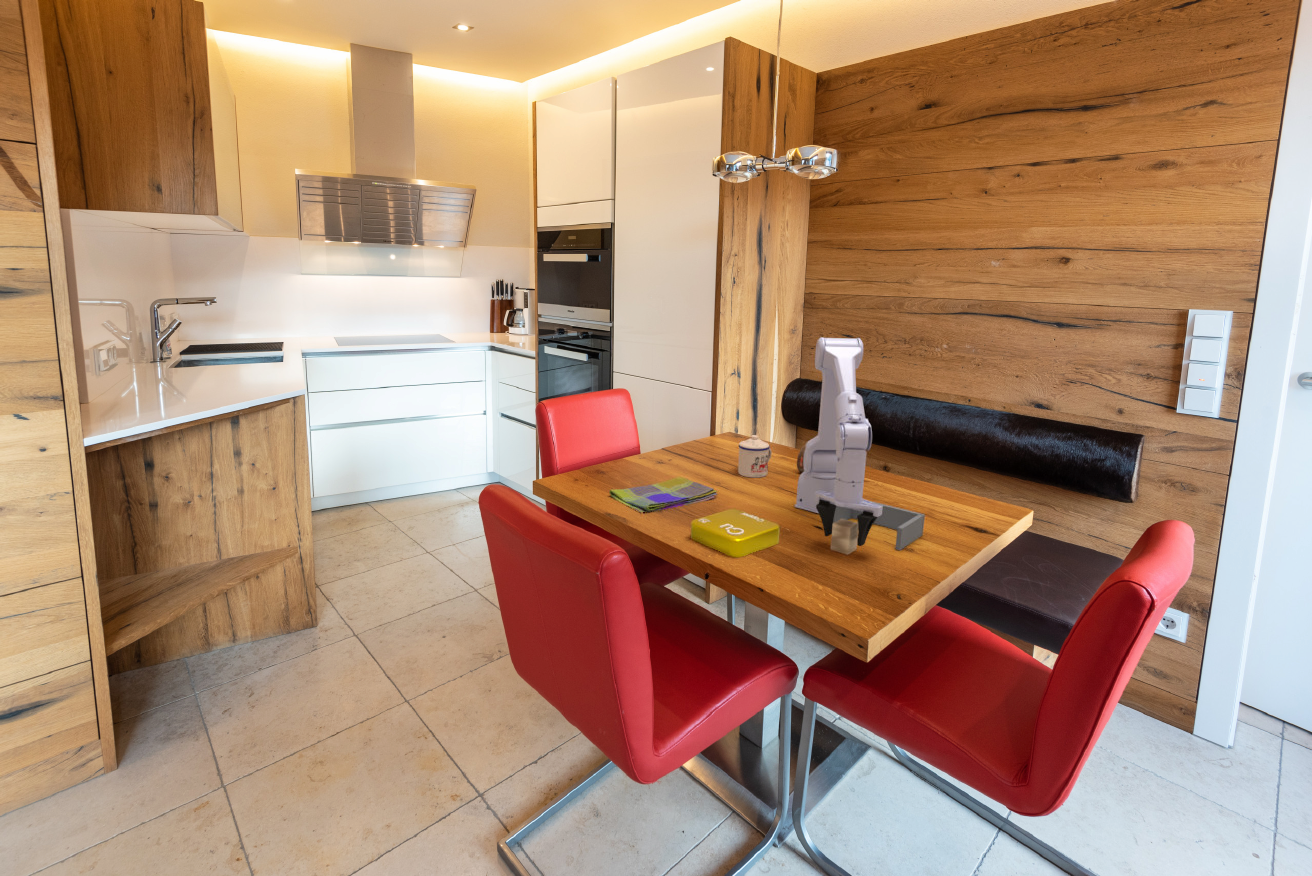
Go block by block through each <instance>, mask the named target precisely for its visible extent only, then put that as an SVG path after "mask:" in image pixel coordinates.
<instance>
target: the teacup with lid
mask: <svg viewBox="0 0 1312 876" xmlns="http://www.w3.org/2000/svg"><path fill="white" fill-rule="evenodd" d="M738 447H739V448H738V464H737V465H738V467H737V473H738V474H739V475H740V476H742V477H747V478H752V479H753V478H754V479H755V478H764V477H766V476H767V475H768V472H769V471H768V468H769V466H768V465H769V462H770V461H771V457H772V452H773V451H772V449H771V447H770V444H769V443H768V442H766V441H763V440H762V439H760V438H759V436H758V435H757V434H756V435H755V434H752V435H751V436H750V437H749V438H748V439H746V440H742V441H740V442H739V443H738Z"/></svg>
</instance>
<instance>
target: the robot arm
mask: <svg viewBox="0 0 1312 876" xmlns="http://www.w3.org/2000/svg"><path fill="white" fill-rule="evenodd" d="M863 357H864V343H863V341H862V339H861V338H860V337H857V338H850V337H849V338H847V337H846V338H843V337H842V338H841V337H840V338H837V337H819V338H818V339H817V342H816V345H815V355H814V365H815V369H816V370H818V371H821V378H822V380H821V381H822V383H821V392H820V403H819V404H820V407H819V418H818V419H819V421H818V429H817V430H818V431H817V435H816V436H815V437H813V438H812V439H810V440H808V441H807V442H806V444H805V445H806V448H805V452H804V459H803V465H804V470H805V471H804V472H801V474H800V475H799V477H798V480H797V481H798V482H797V489H796V503H795V504H794V507H795V508H797V509H801V510H805V511H808V512H812V513H817V514H818V515H819V517H820V519H821V523H822V527H823V532H824V533H823V534H824V537H829V536H832V527H833V520H834V514H835V510H836V506H840V507H846V508H850V509H853V510H857V511H861V512H863V514H860V515H858V516H857V519H856V520H857V523H858V538H857V547H858V546H859V547H862V546H863V545H865V544H866V541H867V538H868V535H869V534H870V533H869V532H870V530H871V528H872V527H873V525H874V524H873V523H874V522H875V520H876V519H877V518H878V516H880V515H882V509H883V506H881V505H878V504H875V503H872V502H873V501H872V502H870V501H871V500H868V501H867V499H865V498H863V495H864V484H865V483H864V482H865V472H866V462H867V452H869V451H870V449H871V447H872V444H873V443H872V442H873V431H872V425H871V423H870V422H869V418H866V414H865V408H864V401H863V397H862V395H861V394H859V393H857V382H856V381H857V380H856V379H857V378H856V370H858V369H859V368H860V364H861V363H862V361H863Z"/></svg>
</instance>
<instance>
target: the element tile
mask: <svg viewBox="0 0 1312 876" xmlns="http://www.w3.org/2000/svg"><path fill="white" fill-rule="evenodd" d="M780 527H781V526H780V525H779V524H778V523H776V522H773V521H771V520H768V519H765V518H762V517H759V516H757V515H754V514H751V513H750V512H749V513H748V512H746V511H742V510H741V509H737V508H729V509H726V510H723V511H719V512H717V513H716V512H715V513H712V514H709V515H706V516H702V517H699V518H696V519H693V520H691V523H690V539H691V540H692V539H693V540H692V541H694V542H696V541H697V542H696V543H698V542H699V543H698V544H700V545H703V546H705V547H707V546H708V547H707V548H710V549H712V548H713V549H712V550H714V549H715V551H716V550H718V551H717V552H719V551H720V552H719V553H721V552H722V553H721V554H723V553H725V554H724V555H726V556H728V557H731V558H743V557H745V556H748V554H749V555H751V554H754V553H756V551H757V552H759V550H760V551H762V550H765V549H768V548H770V547H773V546H775V545H778V544H779V543H780V529H781V528H780ZM753 552H754V553H753ZM750 553H751V554H750ZM742 556H743V557H742Z"/></svg>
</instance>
